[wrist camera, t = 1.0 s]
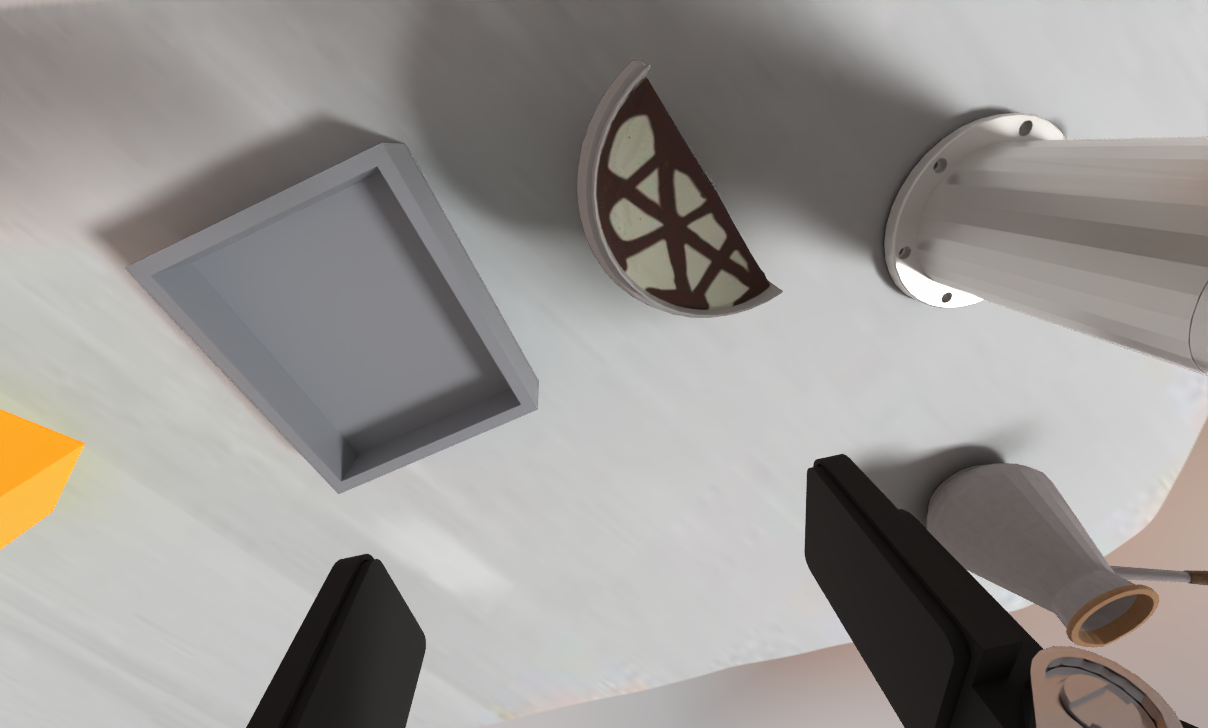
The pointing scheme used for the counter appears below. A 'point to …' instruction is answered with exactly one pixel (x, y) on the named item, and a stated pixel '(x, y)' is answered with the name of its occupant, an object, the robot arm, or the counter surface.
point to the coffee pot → (1041, 551)
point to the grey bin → (349, 318)
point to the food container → (660, 210)
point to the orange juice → (31, 472)
